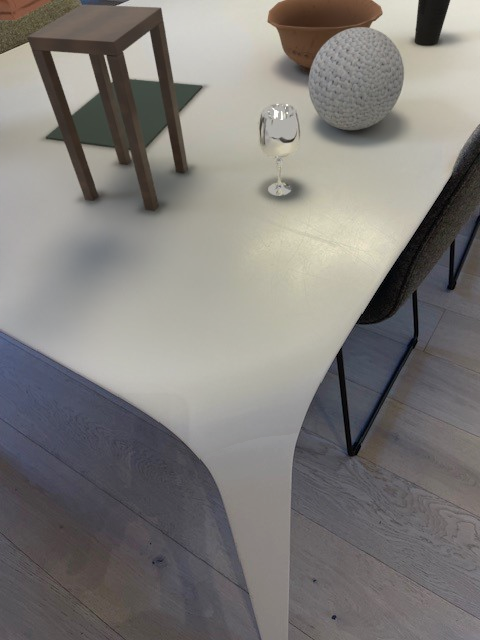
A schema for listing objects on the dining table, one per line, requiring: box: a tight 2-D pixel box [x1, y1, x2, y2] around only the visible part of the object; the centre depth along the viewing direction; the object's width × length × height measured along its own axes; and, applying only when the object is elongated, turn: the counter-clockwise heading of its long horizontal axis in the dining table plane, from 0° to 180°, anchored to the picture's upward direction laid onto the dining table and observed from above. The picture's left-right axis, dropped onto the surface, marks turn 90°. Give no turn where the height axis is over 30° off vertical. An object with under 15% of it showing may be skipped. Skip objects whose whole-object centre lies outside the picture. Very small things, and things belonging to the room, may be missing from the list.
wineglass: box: [257, 103, 301, 197], centre depth 69 cm, size 6×6×12 cm
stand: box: [26, 4, 189, 212], centre depth 69 cm, size 12×12×23 cm
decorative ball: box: [308, 27, 405, 131], centre depth 80 cm, size 15×15×15 cm
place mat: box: [45, 78, 203, 151], centre depth 95 cm, size 20×26×1 cm
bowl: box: [267, 0, 384, 75], centre depth 98 cm, size 22×22×11 cm
